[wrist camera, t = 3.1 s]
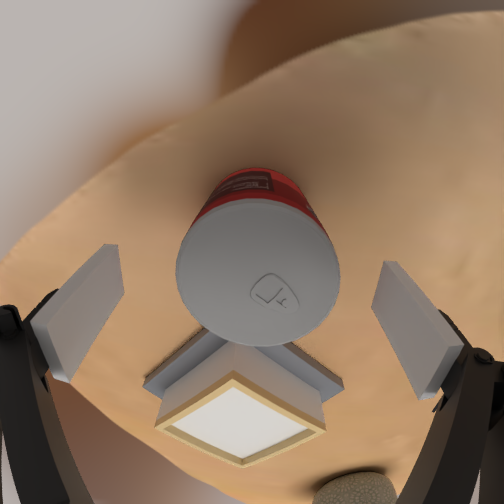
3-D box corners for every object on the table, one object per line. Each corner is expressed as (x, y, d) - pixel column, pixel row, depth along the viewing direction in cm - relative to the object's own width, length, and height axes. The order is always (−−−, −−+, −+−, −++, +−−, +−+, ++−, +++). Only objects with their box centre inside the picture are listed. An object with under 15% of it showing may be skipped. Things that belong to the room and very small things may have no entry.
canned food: (283, 272, 26) (296, 364, 16) (195, 237, 25) (156, 316, 15) (325, 191, 23) (373, 246, 13) (229, 150, 22) (204, 173, 12)
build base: (236, 299, 27) (229, 352, 21) (342, 379, 31) (354, 428, 25) (145, 378, 32) (128, 423, 26) (245, 434, 36) (243, 477, 30)
